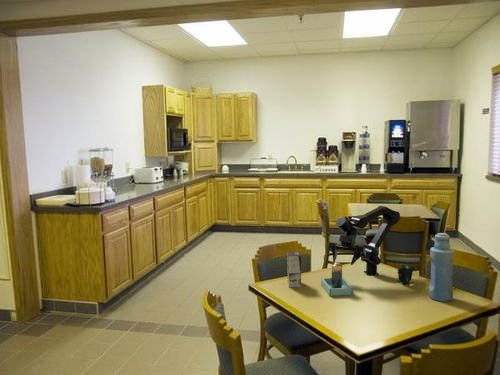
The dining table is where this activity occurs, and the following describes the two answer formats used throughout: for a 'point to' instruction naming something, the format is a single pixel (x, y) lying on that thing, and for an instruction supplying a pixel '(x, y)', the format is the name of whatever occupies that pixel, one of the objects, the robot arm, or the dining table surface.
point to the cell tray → (343, 291)
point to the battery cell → (336, 275)
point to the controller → (405, 273)
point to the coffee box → (294, 269)
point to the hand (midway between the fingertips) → (342, 263)
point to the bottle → (441, 269)
